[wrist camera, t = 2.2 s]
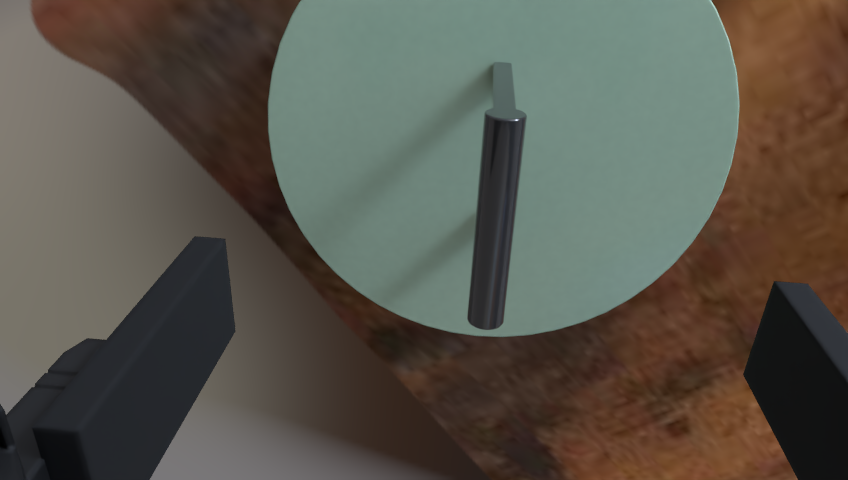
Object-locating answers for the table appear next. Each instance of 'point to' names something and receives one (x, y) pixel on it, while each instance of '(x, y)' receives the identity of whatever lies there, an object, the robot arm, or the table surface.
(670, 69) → the lid
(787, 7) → the table surface
